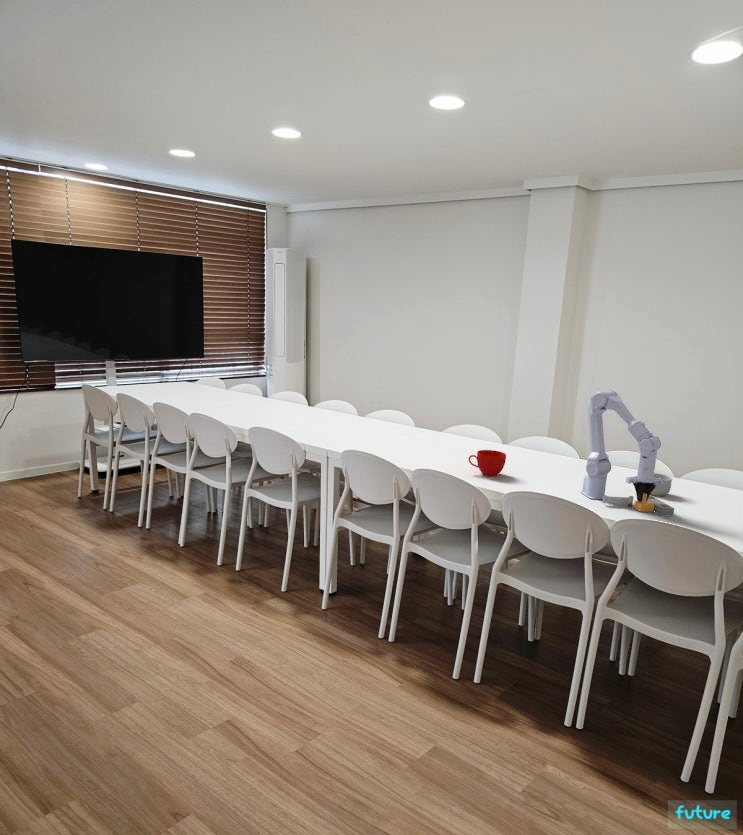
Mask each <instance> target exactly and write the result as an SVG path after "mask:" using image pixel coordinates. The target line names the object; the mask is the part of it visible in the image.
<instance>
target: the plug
mask: <svg viewBox="0 0 743 835" xmlns="http://www.w3.org/2000/svg"><path fill="white" fill-rule="evenodd" d="M646 499H647V494H646V493H645V492H644V493H643V498H642V502H639V501H638V500H635V501H634V508H633V509H635V510H637V511H639V512H641V513H643V512H644V513H645V512H646V513H647V512H649V513H655V512H654V506H655V504H653V503H651V502H650V501H647V502H646Z"/></svg>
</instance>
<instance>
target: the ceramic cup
mask: <svg viewBox="0 0 743 835" xmlns="http://www.w3.org/2000/svg"><path fill="white" fill-rule="evenodd" d="M472 458H475V460H476V461H477V462H476V463H477V464H474V463H473V462H472V461H471V459H472ZM506 460H507V454H506V452H502V451H499V450H492V449H481V450H478V451H477V452H476V455H475V454H470V455H469V456H468V462H469V464H470V465H472V466H473V467H475V468H478V469H479V471H480V472H481V474H482V475H484V476H485V475H487V476H486V477H491V476H494V477H497V476H498V475H499V474H500V473H502V471H503V469H504V468H505V464H506Z"/></svg>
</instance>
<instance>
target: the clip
mask: <svg viewBox="0 0 743 835" xmlns="http://www.w3.org/2000/svg"><path fill="white" fill-rule="evenodd" d="M602 503H604V504H623V505H624V504H625V505H627V506H628V507H630V508H632V507H633V505H634V504H633V503H634V496H632V495H629V496H628V497H627V496H626V497H624V496H608V495H607V496H606V495H604V496H603V499H602Z"/></svg>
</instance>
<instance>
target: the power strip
mask: <svg viewBox="0 0 743 835" xmlns="http://www.w3.org/2000/svg"><path fill="white" fill-rule="evenodd" d="M647 501H650V502H651V503H653V504H655V506H654V511H655V512H654V513H656V514H657V513H658V514H657V515H659V514H660V515H659V516H661V515H668V516H667V517H670V516H671V517H673V516H674V514H675V507H673V506H671V505H669V504H667V503H665V502H664V501H661V500H660V499H658V498H656V497H654V496H653V495H651V494H650V496H649V498H648V500H647ZM669 515H670V516H669Z"/></svg>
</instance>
